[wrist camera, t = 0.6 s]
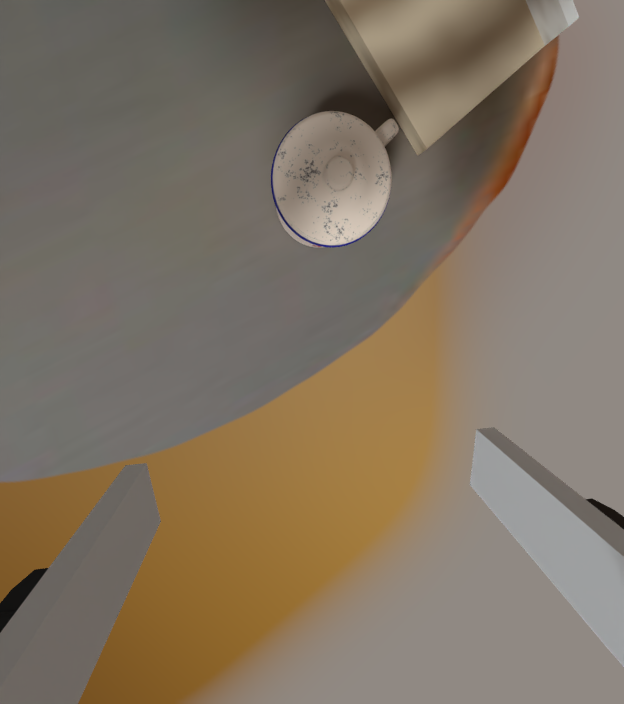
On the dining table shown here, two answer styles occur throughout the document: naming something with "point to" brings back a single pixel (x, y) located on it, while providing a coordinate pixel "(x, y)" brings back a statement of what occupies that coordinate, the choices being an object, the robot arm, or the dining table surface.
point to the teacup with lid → (332, 178)
